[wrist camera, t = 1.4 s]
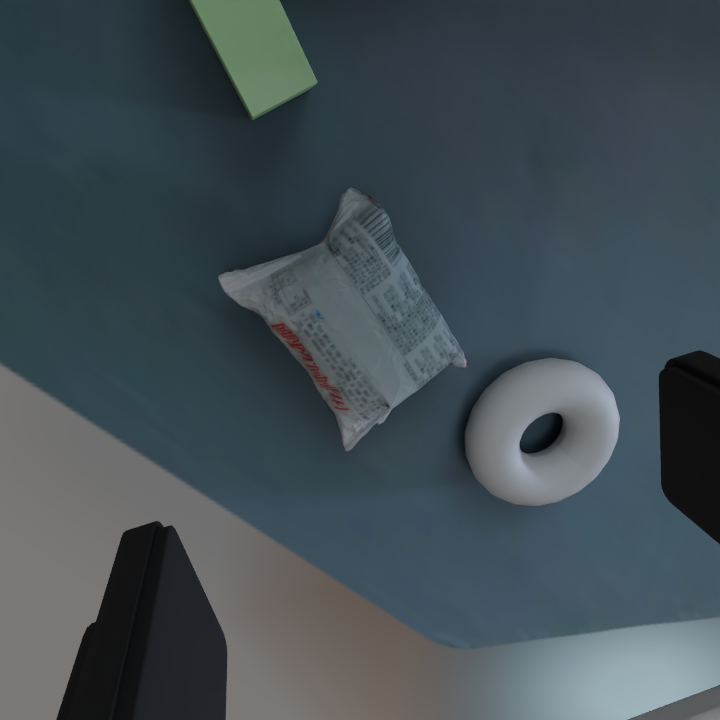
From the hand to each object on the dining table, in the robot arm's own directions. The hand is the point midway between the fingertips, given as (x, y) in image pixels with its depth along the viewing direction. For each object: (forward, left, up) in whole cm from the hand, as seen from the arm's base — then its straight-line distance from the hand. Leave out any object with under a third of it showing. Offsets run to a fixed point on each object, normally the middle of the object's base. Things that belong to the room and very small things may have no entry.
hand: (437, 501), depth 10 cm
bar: (-5, -10, -22) cm, 25 cm away
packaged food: (+1, +4, -22) cm, 22 cm away
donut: (-3, +18, -22) cm, 28 cm away
